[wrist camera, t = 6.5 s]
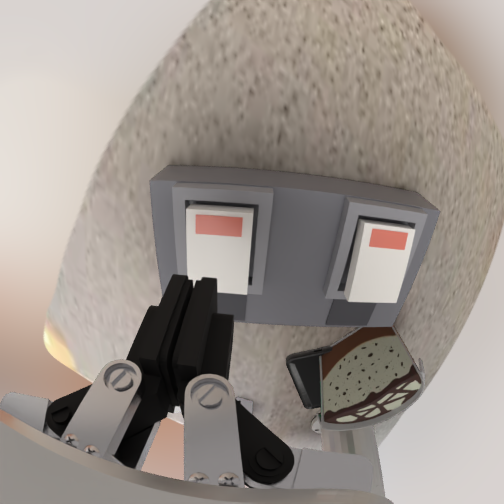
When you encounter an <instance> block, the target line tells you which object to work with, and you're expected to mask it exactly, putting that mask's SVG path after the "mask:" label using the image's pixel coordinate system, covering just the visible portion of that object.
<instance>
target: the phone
mask: <svg viewBox="0 0 504 504" xmlns="http://www.w3.org/2000/svg"><path fill="white" fill-rule="evenodd" d="M332 348H333V347H330V346H326V347H322V348H317V349H313V350H308V351H304V352H299V353H294V354H291V355H289V356H288V357H287V358H286V365H287V368H288V370H289V372H290V375H291V377H292V379H293V382H294V384H295V386H296V389H297V391H298V393H299V396H300V398H301V400H302V403H303V405H304V407H305V408H306V409H314V408H319V407H321V385H320V361H319V356H322V355H324V354H325V353H328V352H330V351H332ZM320 349H322V351H317V352H314V351H316V350H320Z"/></svg>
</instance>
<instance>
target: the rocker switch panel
mask: <svg viewBox="0 0 504 504" xmlns="http://www.w3.org/2000/svg"><path fill="white" fill-rule="evenodd" d="M150 193H151V206H152V217H153V228H154V237H155V246H156V254H157V262H158V269H159V276H160V283H161V289H162V295H164V292H165V290H166V288H167V286H168V283H169V281H170V279H171V277H172V275H173V274H178V275H187V244H186V209H187V208H188V206H189V205H190V204H202V205H218V206H233V207H247V208H254V212H253V225H252V237H251V250H250V263H249V276H248V288H247V295H243V294H231V293H220V292H217V306H218V313H220V314H231V315H234V322H244V323H258V324H273V325H292V326H319V327H392V326H393V324H394V322H395V320H396V318H397V316H398V314H399V312H400V310H401V308H402V306H403V304H404V302H405V300H406V298H407V295H408V293H409V291H410V289H411V287H412V284H413V282H414V280H415V278H416V275H417V273H418V271H419V268H420V266H421V263H422V261H423V258H424V256H425V253H426V251H427V248H428V245H429V243H430V240H431V237H432V234H433V232H434V229H435V226H436V223H437V220H438V217H439V214H440V211H439V210H438V209H437V208H436V207H435V206H434V205H432V204H431V203H430V202H429V201H427V200H426V199H425V198H424V197H422V196H421V195H420V194H419V193H417V192H413V191H408V190H403V189H398V188H393V187H387V186H382V185H376V184H371V183H365V182H359V181H352V180H346V179H339V178H332V177H325V176H317V175H309V174H300V173H291V172H281V171H271V170H259V169H246V168H230V167H211V166H177V165H168V166H167V167H165V168H164V169H163V170H162V171H160V172H159V173H158V174H157V175H156V176H154V177H153V178H152V179H151V180H150ZM358 219H366V220H373V221H381V222H388V223H395V224H402V225H408V226H410V227H412V228H413V229H415V234H414V239H413V243H412V248H411V252H410V256H409V260H408V264H407V268H406V272H405V275H404V279H403V282H402V286H401V289H400V293H399V296H398V299H397V302H396V303H372V302H348V301H347V299H346V297H345V295H344V290H345V286H346V282H347V277H348V272H349V268H350V263H351V258H352V253H353V248H354V242H355V237H356V231H357V225H358Z"/></svg>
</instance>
